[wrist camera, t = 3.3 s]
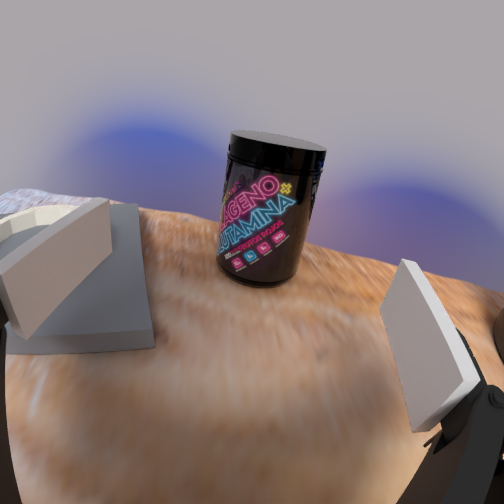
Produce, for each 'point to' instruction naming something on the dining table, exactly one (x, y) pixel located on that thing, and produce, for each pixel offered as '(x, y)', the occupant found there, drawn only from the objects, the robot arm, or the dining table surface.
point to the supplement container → (266, 206)
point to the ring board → (89, 290)
